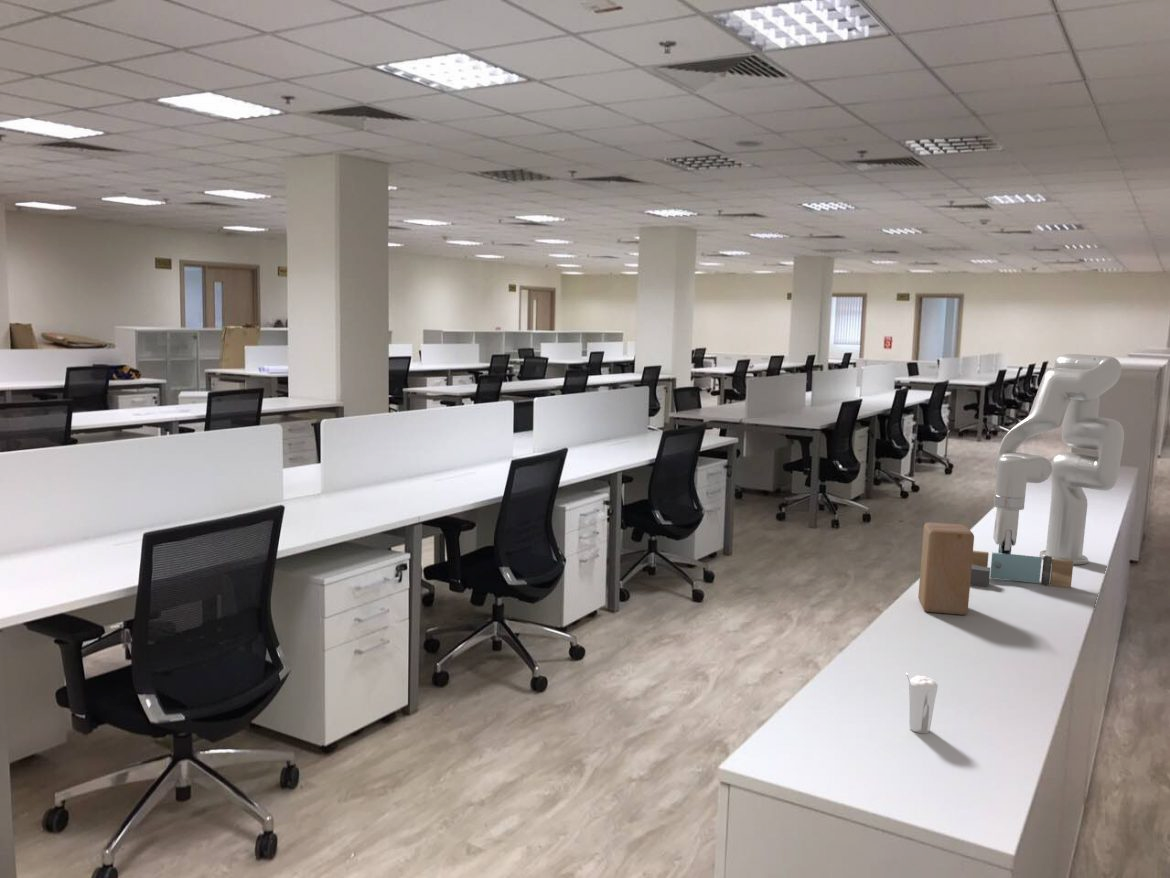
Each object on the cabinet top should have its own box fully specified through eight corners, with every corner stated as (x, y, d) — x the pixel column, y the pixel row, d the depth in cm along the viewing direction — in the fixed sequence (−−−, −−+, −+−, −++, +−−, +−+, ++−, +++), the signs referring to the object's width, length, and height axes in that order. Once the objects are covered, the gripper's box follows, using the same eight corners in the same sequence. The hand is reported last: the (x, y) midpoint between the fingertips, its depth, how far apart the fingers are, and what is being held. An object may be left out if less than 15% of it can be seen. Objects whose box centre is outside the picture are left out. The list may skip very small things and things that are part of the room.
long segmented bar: (969, 575, 254) (972, 548, 253) (1069, 585, 246) (1072, 558, 245) (970, 577, 252) (972, 550, 251) (1070, 588, 245) (1073, 560, 243)
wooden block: (968, 616, 219) (975, 533, 216) (923, 612, 221) (930, 530, 218) (960, 603, 229) (966, 524, 226) (917, 600, 230) (923, 521, 228)
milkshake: (896, 723, 160) (900, 668, 159) (926, 723, 161) (931, 667, 159) (907, 735, 156) (912, 678, 154) (938, 735, 156) (943, 678, 155)
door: (1038, 581, 248) (1041, 557, 247) (1040, 584, 246) (1042, 559, 245) (990, 576, 252) (992, 552, 251) (990, 579, 250) (993, 554, 249)
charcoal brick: (960, 580, 250) (961, 563, 249) (988, 584, 247) (990, 567, 246) (959, 583, 246) (960, 567, 245) (987, 588, 243) (989, 571, 242)
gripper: (991, 495, 260) (985, 559, 262) (996, 506, 246) (990, 573, 248) (1021, 498, 258) (1014, 562, 260) (1027, 508, 244) (1021, 576, 246)
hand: (1003, 567), depth 254 cm, fingers closed
